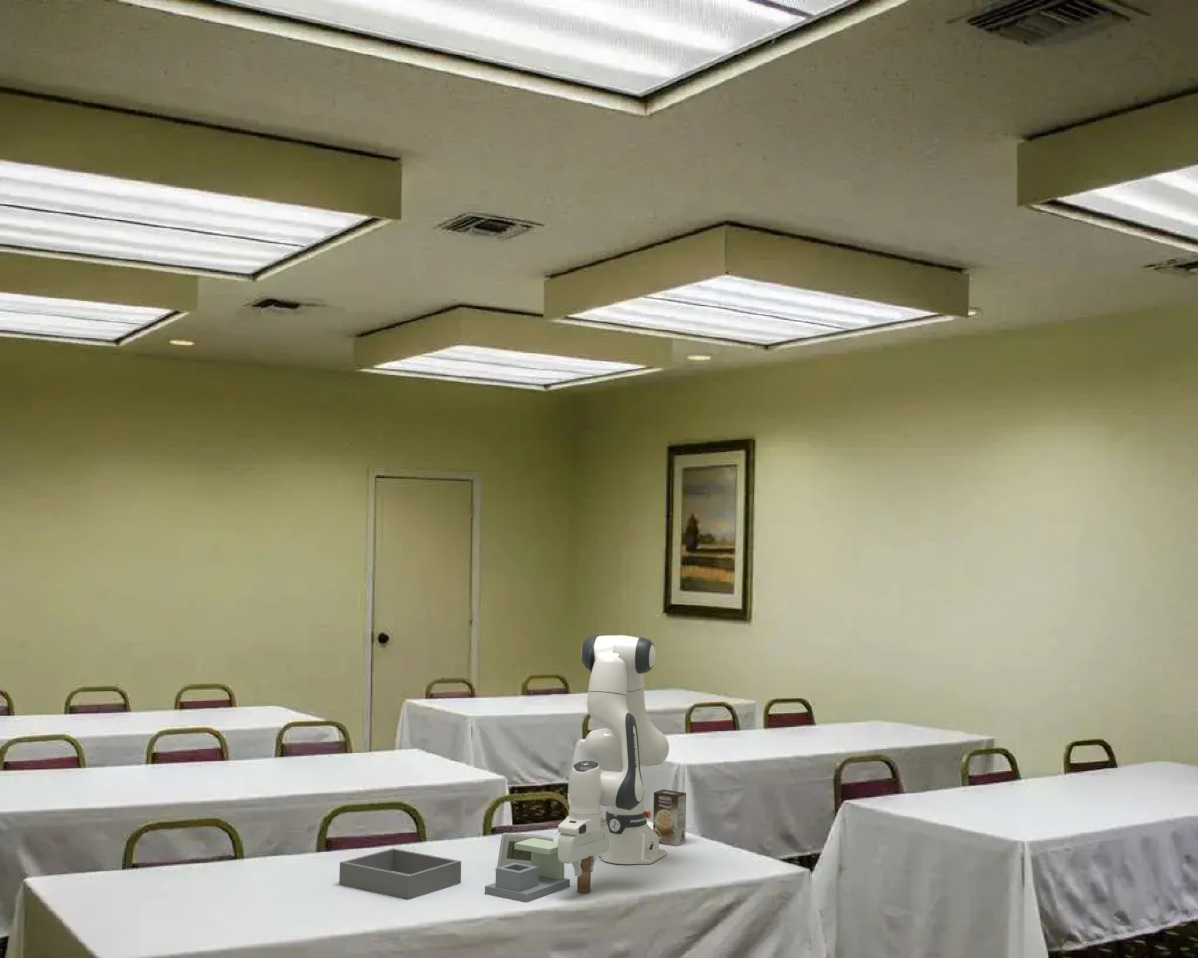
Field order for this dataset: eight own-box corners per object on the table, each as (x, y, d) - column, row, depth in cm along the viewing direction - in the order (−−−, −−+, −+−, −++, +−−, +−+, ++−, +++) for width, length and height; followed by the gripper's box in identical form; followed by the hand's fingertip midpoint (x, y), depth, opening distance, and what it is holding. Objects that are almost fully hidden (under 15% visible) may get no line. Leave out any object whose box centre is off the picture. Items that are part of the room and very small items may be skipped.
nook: (529, 878, 362) (530, 837, 363) (569, 886, 355) (570, 844, 355) (484, 893, 346) (485, 850, 347) (526, 901, 338) (527, 857, 339)
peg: (582, 888, 352) (582, 844, 353) (592, 890, 350) (593, 846, 351) (574, 891, 349) (575, 846, 350) (585, 893, 347) (586, 848, 348)
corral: (392, 869, 371) (393, 848, 371) (460, 882, 357) (461, 860, 357) (339, 884, 353) (339, 862, 353) (408, 899, 339) (409, 876, 339)
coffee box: (651, 842, 411) (652, 791, 412) (661, 838, 416) (662, 788, 417) (676, 846, 406) (677, 795, 407) (686, 842, 411) (687, 792, 412)
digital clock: (493, 871, 370) (494, 834, 370) (511, 865, 378) (512, 829, 378) (540, 880, 362) (541, 841, 362) (557, 873, 369) (558, 835, 370)
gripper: (596, 814, 361) (595, 864, 360) (554, 827, 344) (553, 879, 343) (615, 817, 358) (614, 868, 357) (573, 830, 341) (572, 883, 340)
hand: (584, 873), depth 350 cm, fingers closed on peg, 4 cm apart
